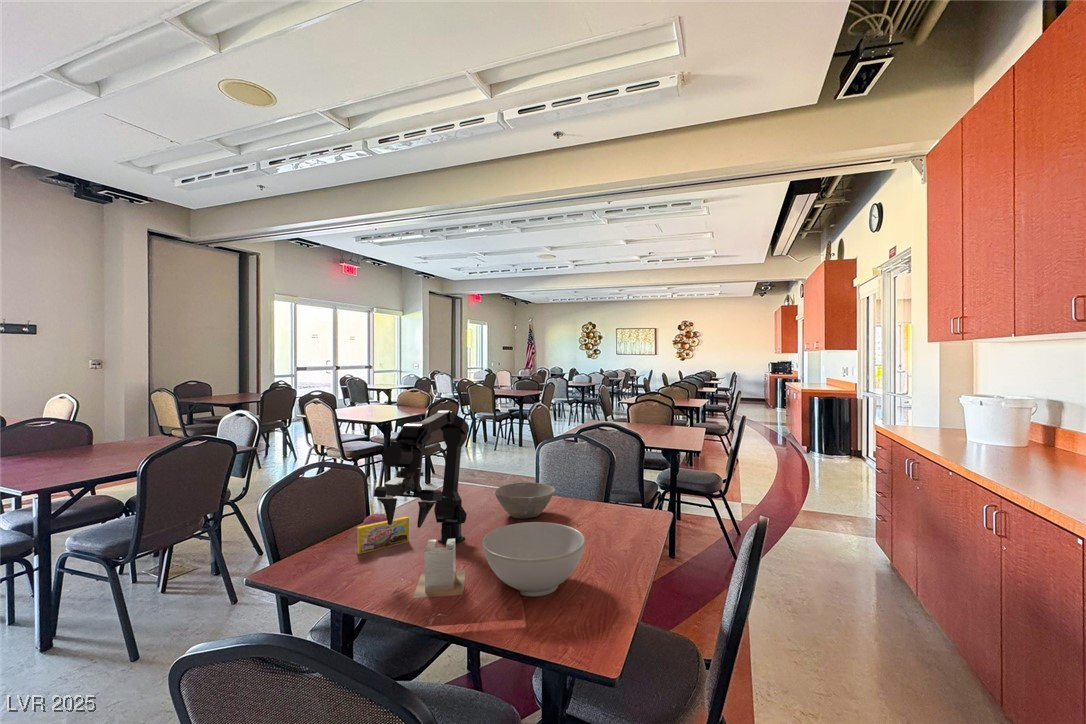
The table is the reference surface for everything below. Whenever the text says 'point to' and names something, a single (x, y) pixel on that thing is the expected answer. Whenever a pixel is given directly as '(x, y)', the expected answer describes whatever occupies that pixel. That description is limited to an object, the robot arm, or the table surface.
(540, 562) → the decorative bowl
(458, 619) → the table surface
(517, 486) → the ceramic bowl
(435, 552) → the c link
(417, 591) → the peg stand
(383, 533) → the candy box
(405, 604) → the table surface
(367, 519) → the pink sprinkled cake pop
